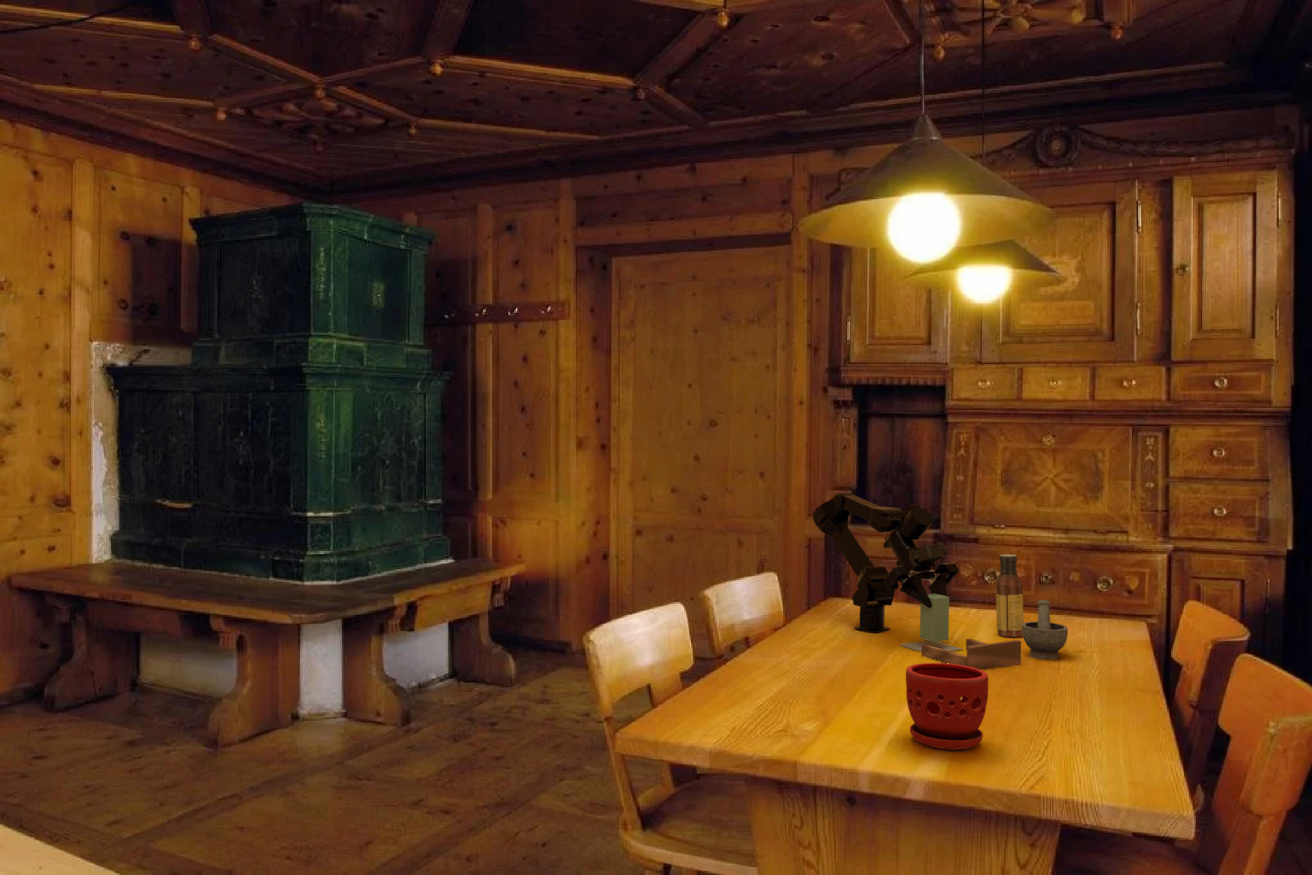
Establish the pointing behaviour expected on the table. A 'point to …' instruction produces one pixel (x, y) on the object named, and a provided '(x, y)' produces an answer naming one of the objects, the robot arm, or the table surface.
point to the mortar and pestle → (1044, 634)
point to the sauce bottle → (1009, 598)
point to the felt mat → (918, 645)
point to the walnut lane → (979, 654)
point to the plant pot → (946, 704)
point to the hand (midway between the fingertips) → (938, 606)
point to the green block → (935, 619)
